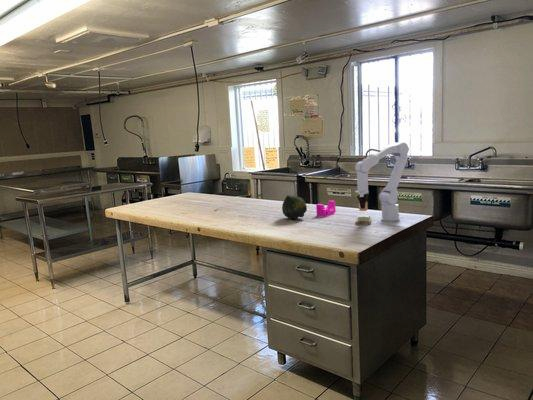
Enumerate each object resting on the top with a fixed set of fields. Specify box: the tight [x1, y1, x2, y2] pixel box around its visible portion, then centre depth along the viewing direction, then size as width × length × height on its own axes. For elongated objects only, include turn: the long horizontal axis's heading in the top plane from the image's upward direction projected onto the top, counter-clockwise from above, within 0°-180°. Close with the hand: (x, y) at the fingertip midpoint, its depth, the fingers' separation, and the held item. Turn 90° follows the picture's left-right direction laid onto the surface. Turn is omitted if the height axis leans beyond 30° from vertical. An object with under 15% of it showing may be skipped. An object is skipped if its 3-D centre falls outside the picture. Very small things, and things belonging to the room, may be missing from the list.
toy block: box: [315, 200, 337, 218], centre depth 262 cm, size 15×6×8 cm, turn 137°
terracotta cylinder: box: [358, 201, 368, 212], centre depth 233 cm, size 4×4×4 cm
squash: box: [281, 195, 308, 221], centre depth 254 cm, size 14×15×15 cm
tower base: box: [355, 217, 373, 226], centre depth 234 cm, size 8×8×2 cm
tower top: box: [357, 214, 371, 221], centre depth 234 cm, size 6×6×2 cm
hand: (363, 207), depth 233 cm, fingers closed on terracotta cylinder, 4 cm apart
